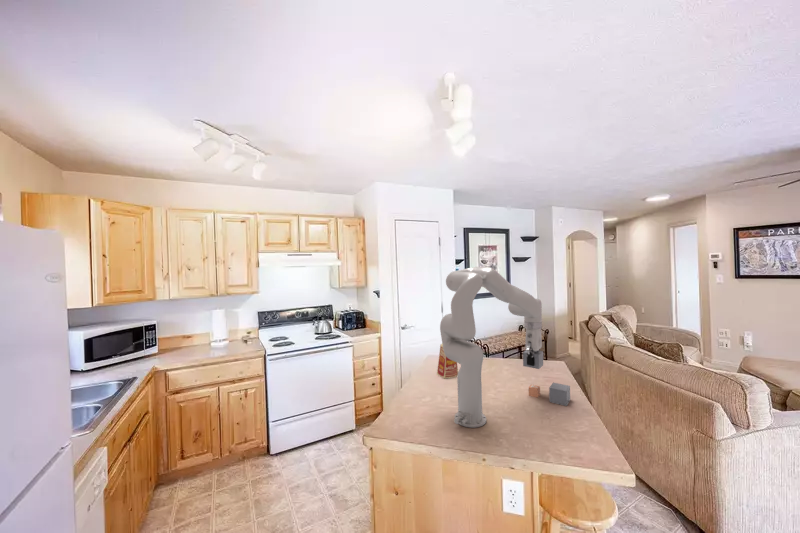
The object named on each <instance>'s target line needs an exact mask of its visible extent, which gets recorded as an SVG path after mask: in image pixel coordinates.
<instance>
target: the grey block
mask: <svg viewBox="0 0 800 533" xmlns="http://www.w3.org/2000/svg"><path fill="white" fill-rule="evenodd" d="M548 390H549V391H548V392H549V394H548V396H549V403H553V404H556V405H557V404H558V405H561V406H565V407H567V406H568V404H569V403H570V401H571V386H570V385H568V384H564V383H563V384H561V383H558V382H552V384H550V386H549V388H548Z"/></svg>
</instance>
